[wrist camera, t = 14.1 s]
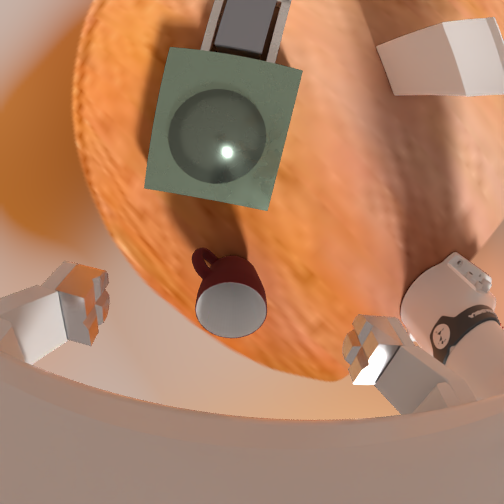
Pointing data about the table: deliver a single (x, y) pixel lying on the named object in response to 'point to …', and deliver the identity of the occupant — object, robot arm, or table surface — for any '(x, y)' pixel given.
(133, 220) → the table surface
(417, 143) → the table surface
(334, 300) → the table surface
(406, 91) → the milk carton
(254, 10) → the grey rectangular block
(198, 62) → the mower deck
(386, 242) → the table surface
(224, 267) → the mug
